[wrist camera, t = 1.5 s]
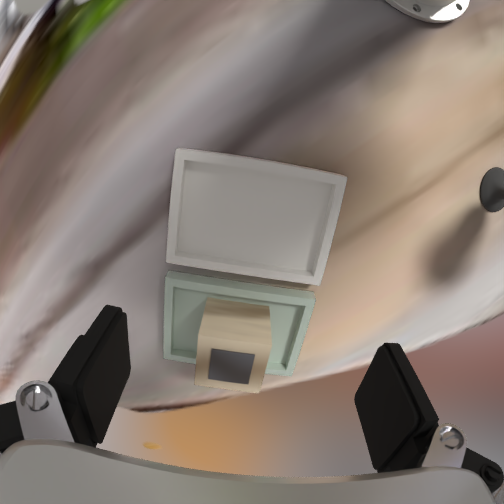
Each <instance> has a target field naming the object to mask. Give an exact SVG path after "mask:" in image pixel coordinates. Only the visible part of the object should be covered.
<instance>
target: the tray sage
mask: <svg viewBox="0 0 504 504" xmlns="http://www.w3.org/2000/svg"><path fill="white" fill-rule="evenodd" d="M207 297H210V298H216V299H223V300H229V301H236V302H243V303H250V304H257V305H264V306H269V309H270V322H271V336H272V348H271V351H270V355H269V359H268V363H267V367H266V370H265V374H272V375H283V376H292V374H293V371H294V368H295V365H296V362H297V359H298V356H299V353H300V350H301V347H302V344H303V341H304V337H305V334H306V331H307V328H308V325H309V321H310V318H311V315H312V312H313V308H314V305H315V302H316V298H315V295H314V292H311V291H303V290H296V289H289V288H281V287H274V286H267V285H260V284H253V283H247V282H240V281H233V280H227V279H220V278H214V277H207V276H201V275H195V274H188V273H182V272H176V271H170V270H169V271H168V273H167V275H166V277H165V291H164V336H163V359H169V360H174V361H179V362H185V363H191V364H196V355H197V344H198V334H199V330H200V326H201V321H202V317H203V313H204V309H205V305H206V301H207Z"/></svg>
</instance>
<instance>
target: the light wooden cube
mask: <svg viewBox="0 0 504 504" xmlns="http://www.w3.org/2000/svg"><path fill="white" fill-rule="evenodd" d="M271 348H272V336H271V322H270V309H269V306H264V305H257V304H250V303H243V302H236V301H229V300H223V299H216V298H210V297H207V301H206V305H205V309H204V313H203V317H202V321H201V326H200V330H199V334H198V344H197V355H196V368H195V381H194V385H200V386H206V387H212V388H219V389H227V390H234V391H242V392H251V393H259V392H260V389H261V385H262V381H263V378H264V374H265V370H266V367H267V363H268V359H269V355H270V351H271Z"/></svg>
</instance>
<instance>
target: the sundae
mask: <svg viewBox="0 0 504 504" xmlns="http://www.w3.org/2000/svg"><path fill="white" fill-rule="evenodd" d="M481 200H482V203H483V205H484V207H485V208H486V209H487V210H488V211H491V212H496V211H499V210H501V209H502V208H503V207H504V170H503V169H501V168H498V167H496V168H492V169H490V170H489V171H488V172H487V173H486V175H485V176H484V178H483V181H482V184H481Z"/></svg>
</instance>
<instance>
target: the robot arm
mask: <svg viewBox="0 0 504 504" xmlns="http://www.w3.org/2000/svg"><path fill="white" fill-rule="evenodd" d="M385 1H386V2H388V3H389V4H390V5H392V6H393V7H395V8H396V9H398V10H399V11H401V12H403V13H405V14H407V15H409V16H411V17H413V18H415V19H419V20H422V21H425V22H431V23H445V22H449V21H452V20H454V19H456V18H458V17H460V16H461V15H462V14H464V13H465V11H466V9H467V7H468V5H469V0H385ZM130 370H131V365H130V354H129V343H128V329H127V315H126V313H124V312H122V308H120V307H115V306H110V305H106V306H105V307H104V308H103V309H102V311H101V312H100V314H99V315H98V316H97V318H96V319H95V321H94V322H93V324H92V325H91V327H90V328H89V329H88V331H87V332H86V334H85V335H80V336H79V337H78V338H77V339H76V341H75V342H74V344H73V345H72V346H71V348H70V349H69V351H68V352H67V354H66V355H65V357H64V358H63V360H62V361H61V363H60V364H59V366H58V367H57V369H56V371H55V372H54V374H53V375H52V377H51V378H50V380H49V381H48V383H46V382H44V381H31V382H28V383H25V384H24V385H22V386H21V387H20V388H19V390H18V391H17V394H16V401H13V402H9V403H6V404H2V405H0V504H504V482H503V481H504V475H503V472H502V469H501V468H500V466H499V465H498V464H496V463H495V462H493V461H491V460H489V459H487V458H485V457H483V456H482V455H480V454H478V453H476V452H474V451H472V450H470V449H468V448H467V438H466V435H465V434H464V432H463V431H462V430H461V429H460V428H459V427H457V426H456V425H453V424H449V423H445V424H441V425H440V426H439V425H438V420H439V418H438V416H437V414H436V412H435V411H434V408H433V406H432V404H431V402H430V400H429V398H428V396H427V394H426V392H425V390H424V388H423V387H422V385H421V383H420V381H419V379H418V377H417V375H416V373H415V371H414V370H413V368H412V366H411V364H410V362H409V360H408V358H407V357H406V355H405V353H404V351H403V349H402V347H401V346H400V344H398V343H384V344H383V345H382V346H380V347H379V348H378V350H377V352H376V354H375V356H374V358H373V360H372V362H371V364H370V366H369V368H368V370H367V372H366V374H365V376H364V379H363V380H362V382H361V384H360V386H359V388H358V390H357V392H356V394H355V399H354V400H355V405H356V408H357V412H358V415H359V419H360V422H361V425H362V429H363V432H364V436H365V439H366V443H367V446H368V450H369V454H370V457H371V461H372V465H373V467H374V469H375V470H377V472H378V473H373V474H363V475H351V476H335V477H264V476H250V475H249V476H248V475H238V474H227V473H218V472H210V471H202V470H196V469H189V468H183V467H177V466H172V465H167V464H162V463H157V462H152V461H148V460H143V459H138V458H134V457H130V456H126V455H122V454H118V453H114V452H110V451H107V450H103V449H99V448H96V445H97V443H99V444H101V443H102V442H103V439H104V437H105V435H106V432H107V429H108V427H109V424H110V422H111V419H112V417H113V414H114V412H115V409H116V407H117V404H118V402H119V399H120V397H121V394H122V392H123V390H124V387H125V385H126V382H127V380H128V378H129V375H130Z"/></svg>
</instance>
